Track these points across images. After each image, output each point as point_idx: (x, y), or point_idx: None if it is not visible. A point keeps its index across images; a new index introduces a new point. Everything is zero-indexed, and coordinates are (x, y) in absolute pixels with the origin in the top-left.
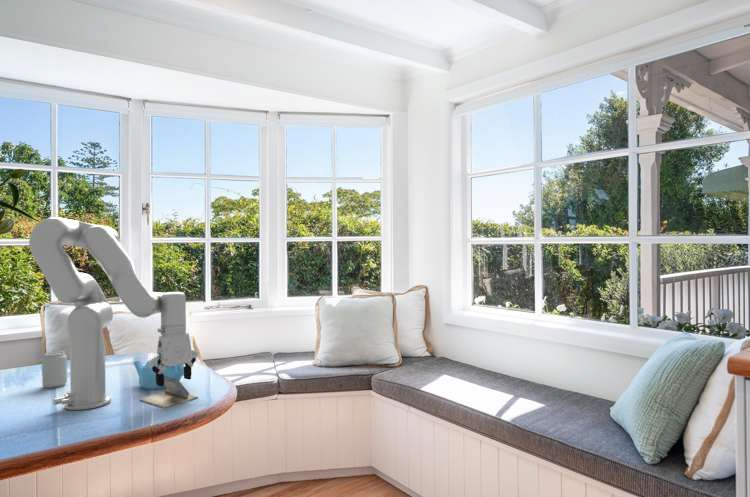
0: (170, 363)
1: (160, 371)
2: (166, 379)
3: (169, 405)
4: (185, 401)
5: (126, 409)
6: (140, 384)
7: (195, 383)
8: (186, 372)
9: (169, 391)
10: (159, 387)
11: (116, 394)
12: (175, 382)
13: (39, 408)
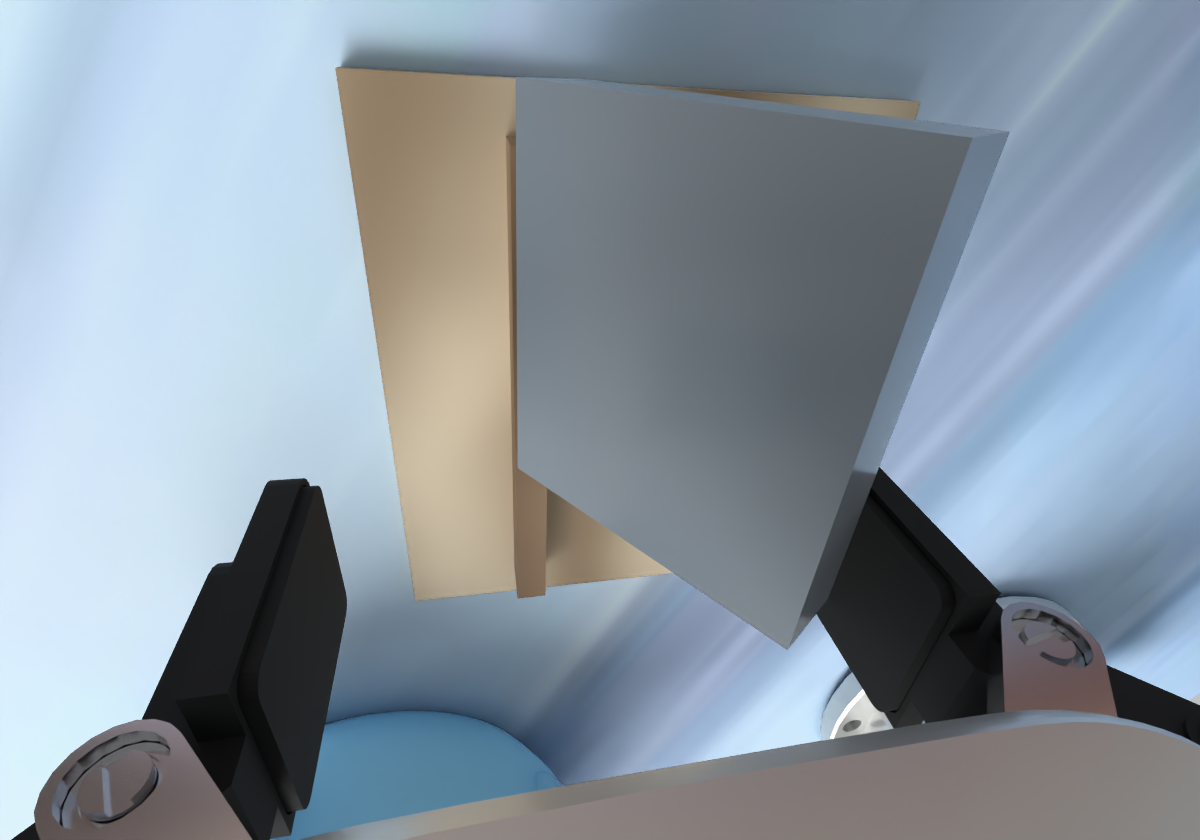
0: (1112, 821)
1: (1059, 657)
2: (867, 480)
3: (834, 97)
4: None
5: (1004, 411)
6: None
7: (72, 684)
8: (307, 644)
9: (545, 520)
10: (471, 723)
11: (727, 754)
12: (977, 130)
13: None
